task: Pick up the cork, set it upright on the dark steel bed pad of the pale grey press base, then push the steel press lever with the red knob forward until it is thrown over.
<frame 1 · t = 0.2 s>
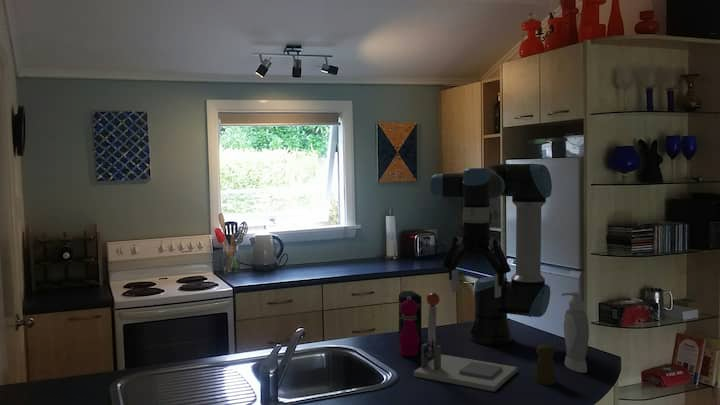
hand: (475, 294, 189), 28 cm above the countertop, tool pointing down, fingers open, 13 cm apart
soap bottle: (572, 369, 206), on the countertop
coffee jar: (410, 342, 237), on the countertop
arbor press: (462, 373, 202), on the countertop
cork: (545, 381, 194), on the countertop
pepper mill: (409, 353, 223), on the countertop
press lever: (432, 325, 203), point 15 cm above the countertop, hinge at -5.0°
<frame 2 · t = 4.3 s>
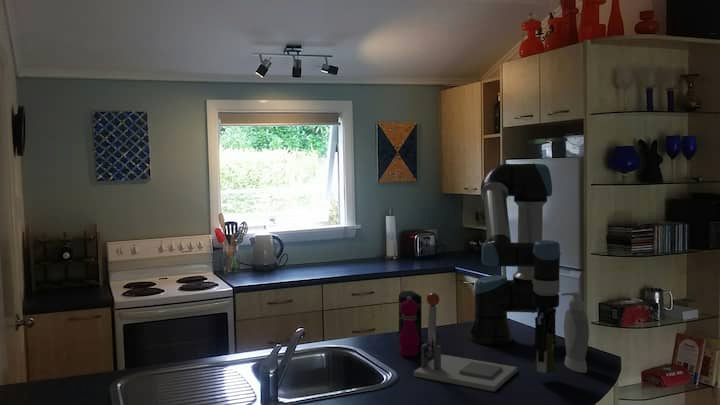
hand: (544, 368, 195), 4 cm above the countertop, tool pointing down, fingers closed on cork, 6 cm apart
cork: (544, 369, 195), point 3 cm above the countertop, touching gripper
everything else where it was.
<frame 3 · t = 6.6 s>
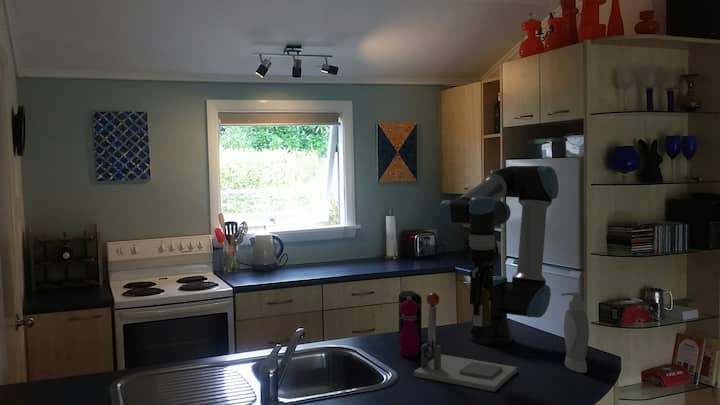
hand: (481, 323, 198), 17 cm above the countertop, tool pointing down, fingers closed on cork, 6 cm apart
cork: (481, 324, 198), point 16 cm above the countertop, touching gripper
everything else where it was.
when the fingers open (4 cm above the countertop, at t = 9.3 s): cork drops 1 cm, resting on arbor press.
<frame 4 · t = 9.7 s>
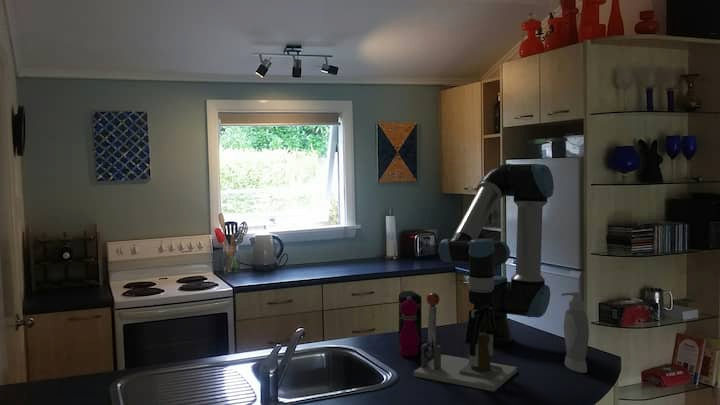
hand: (481, 360, 199), 5 cm above the countertop, tool pointing down, fingers open, 11 cm apart
cork: (480, 369, 199), point 2 cm above the countertop, touching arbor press
everything else where it was.
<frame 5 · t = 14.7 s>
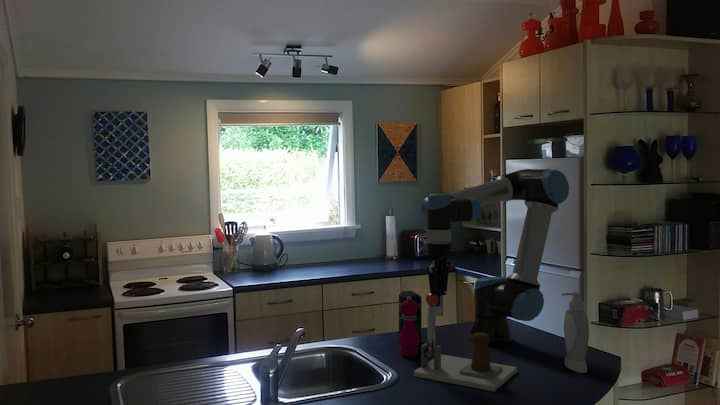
hand: (438, 315, 207), 17 cm above the countertop, tool pointing down, fingers closed
press lever: (431, 325, 203), point 15 cm above the countertop, hinge at -2.8°, touching gripper
everything else where it was.
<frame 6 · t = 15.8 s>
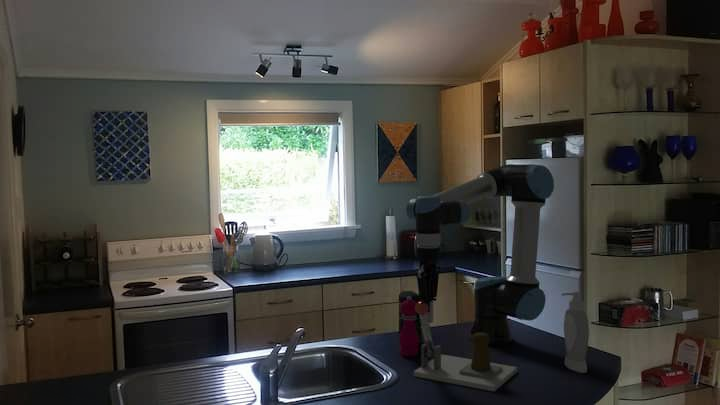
hand: (428, 321, 201), 16 cm above the countertop, tool pointing down, fingers closed
press lever: (426, 330, 200), point 14 cm above the countertop, hinge at 22.0°, touching gripper
everything else where it was.
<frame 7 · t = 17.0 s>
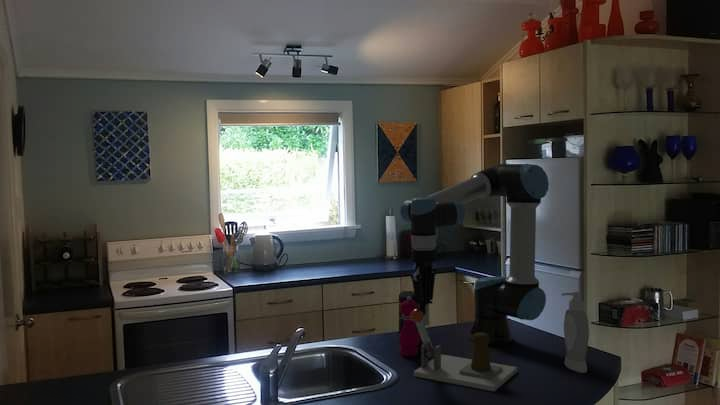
hand: (424, 324, 198), 16 cm above the countertop, tool pointing down, fingers closed
press lever: (423, 334, 198), point 13 cm above the countertop, hinge at 34.1°, touching gripper
everything else where it was.
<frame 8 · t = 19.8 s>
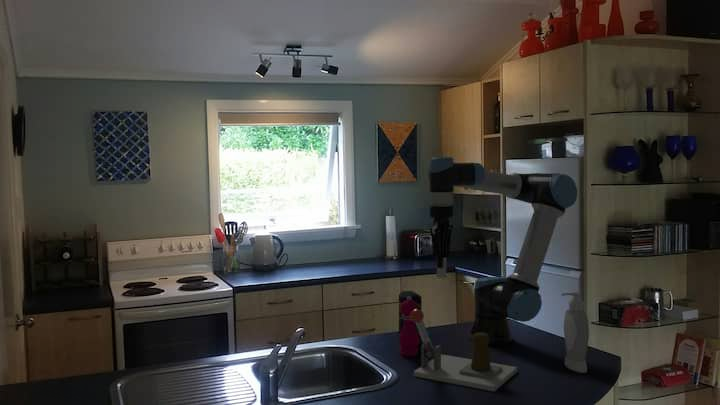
hand: (441, 277, 210), 28 cm above the countertop, tool pointing down, fingers closed
press lever: (423, 334, 198), point 13 cm above the countertop, hinge at 34.1°
everything else where it was.
at the end: cork inside the target area (0.1 cm from its centre), point 2.3 cm above the countertop; cork tilted 0°; press lever at +34° (first picture: -5°) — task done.
